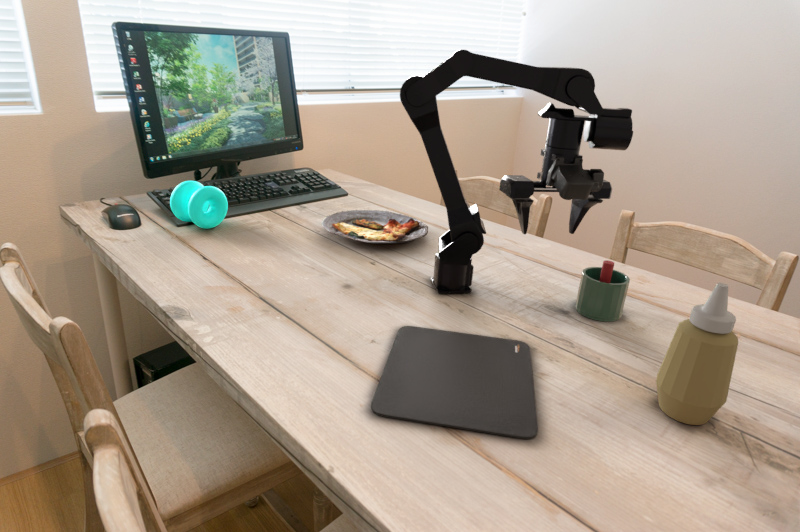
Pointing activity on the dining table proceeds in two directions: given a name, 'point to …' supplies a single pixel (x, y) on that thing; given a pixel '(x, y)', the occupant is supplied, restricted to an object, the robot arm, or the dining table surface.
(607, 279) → the red wooden peg
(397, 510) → the dining table surface
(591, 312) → the cup
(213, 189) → the turquoise spool
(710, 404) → the squeeze bottle
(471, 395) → the mouse pad
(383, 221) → the food plate
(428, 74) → the robot arm
